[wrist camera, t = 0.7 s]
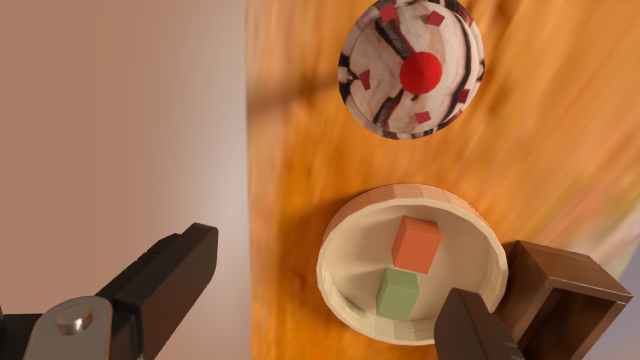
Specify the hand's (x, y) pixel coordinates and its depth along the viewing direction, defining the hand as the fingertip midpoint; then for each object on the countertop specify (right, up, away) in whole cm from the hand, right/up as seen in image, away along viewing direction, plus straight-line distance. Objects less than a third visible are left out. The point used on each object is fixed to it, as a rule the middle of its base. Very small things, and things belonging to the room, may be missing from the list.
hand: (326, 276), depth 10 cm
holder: (+19, -9, +19) cm, 28 cm away
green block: (+7, -7, +20) cm, 22 cm away
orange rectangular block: (+8, -2, +17) cm, 19 cm away
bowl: (+8, -4, +19) cm, 21 cm away
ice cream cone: (+5, +12, +12) cm, 18 cm away
